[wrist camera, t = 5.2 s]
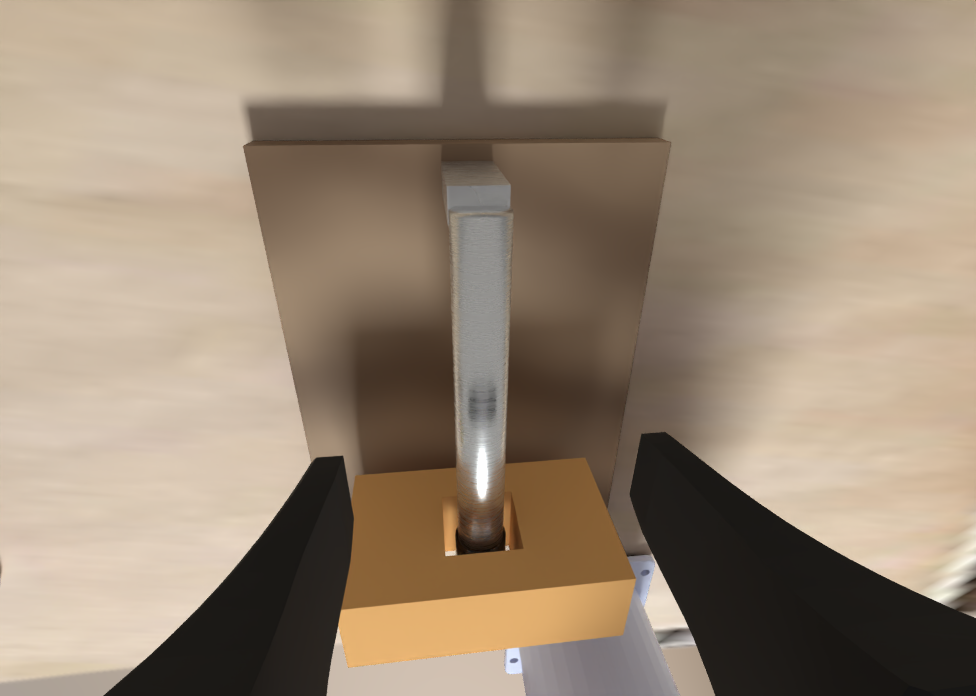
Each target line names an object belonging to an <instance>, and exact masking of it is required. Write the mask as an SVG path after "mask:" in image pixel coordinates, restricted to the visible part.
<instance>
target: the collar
mask: <svg viewBox="0 0 976 696" xmlns="http://www.w3.org/2000/svg"><path fill="white" fill-rule="evenodd" d="M351 503H352V509H353V515H354V526H353V540H352V552H351V562H350V567H349V572H348V578H347V583H346V588H345V593H344V598H343V603H342V608H341V613H340V618H339V623H338V626H339V630H340V635H341V639H342V643H343V648H344V652H345V657H346V661H347V665H348V668H349V667H358V666H365V665H375V664H384V663H392V662H400V661H409V660H417V659H425V658H434V657H442V656H451V655H459V654H468V653H477V652H485V651H494V650H502V649H511V648H519V647H528V646H536V645H545V644H553V643H562V642H570V641H579V640H587V639H596V638H604V637H613V636H621V635H623V633H624V629H625V625H626V620H627V616H628V612H629V608H630V603H631V599H632V595H633V591H634V587H635V582H636V577H635V574H634V572H633V570H632V567H631V565H630V563H629V560H628V558H627V555H626V553H625V551H624V548H623V546H622V544H621V541H620V539H619V536H618V534H617V532H616V529H615V527H614V525H613V522H612V520H611V517H610V515H609V513H608V510H607V508H606V506H605V503H604V501H603V499H602V496H601V494H600V491H599V489H598V487H597V484H596V482H595V480H594V477H593V475H592V472H591V470H590V468H589V465H588V463H587V461H586V458H573V459H561V460H548V461H535V462H522V463H509V464H505V490H504V520H503V526H504V528H505V532H506V543H505V546H507V545H509V548H510V550H507V551H497V552H486V553H476V554H466V555H455V556H445V551H455V550H456V539H455V533H456V529H457V527H458V512H457V479H456V468H445V469H432V470H419V471H406V472H393V473H380V474H367V475H355V480H354V487H353V494H352V500H351Z"/></svg>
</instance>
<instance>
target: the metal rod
mask: <svg viewBox="0 0 976 696" xmlns="http://www.w3.org/2000/svg"><path fill="white" fill-rule="evenodd" d="M441 173H442V196H443V202H444V207H445V213H446V218H447V223H448V226H449V247H450V280H451V313H452V346H453V379H454V413H455V446H456V479H457V512H458V527H457V529H456V533H455V539H456V550H455V552H456V555H466V554H476V553H486V552H497V551H505V543H506V532H505V528H504V526H503V520H504V490H505V460H506V430H507V400H508V370H509V340H510V310H511V280H512V250H513V220H514V211H513V209H511V208H510V194H511V185H510V183H509V182H508V181H507V179H506V178H505V177H504V175H503V174H502V173H501V171H500V170H499V169H498V167H497V166H496V165H495V163H494V162H493V161H452V162H441Z"/></svg>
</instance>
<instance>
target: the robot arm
mask: <svg viewBox="0 0 976 696" xmlns="http://www.w3.org/2000/svg"><path fill="white" fill-rule="evenodd" d="M630 498H631V501H632V504H633V507H634V510H635V513H636V516H637V519H638V522H639V524H640V527H641V530H642V533H643V535H644V537H645V539H646V541H647V543H648V545H649V547H650V549H651V551H652V553H653V556H654V558H655V560H656V562H657V564H658V566H659V568H660V570H661V572H662V574H663V576H664V578H665V580H666V582H667V584H668V586H669V588H670V590H671V592H672V594H673V596H674V598H675V600H676V602H677V604H678V606H679V608H680V610H681V612H682V614H683V616H684V618H685V620H686V622H687V625H688V627H689V629H690V631H691V633H692V636H693V638H694V640H695V643H696V646H697V648H698V651H699V653H700V656H701V659H702V661H703V664H704V666H705V669H706V671H707V674H708V677H709V679H710V682H711V685H712V688H713V690H714V693H715V696H976V618H974V617H972V616H969V615H967V614H964V613H962V612H959V611H957V610H954V609H952V608H950V607H948V606H945V605H943V604H941V603H939V602H936V601H934V600H932V599H930V598H928V597H925V596H923V595H921V594H919V593H916V592H914V591H912V590H910V589H908V588H906V587H904V586H902V585H899V584H897V583H895V582H893V581H891V580H889V579H887V578H885V577H883V576H881V575H879V574H877V573H875V572H873V571H871V570H870V569H868V568H866V567H864V566H862V565H860V564H858V563H856V562H854V561H852V560H850V559H848V558H847V557H845V556H843V555H841V554H839V553H838V552H836V551H834V550H832V549H831V548H829V547H827V546H825V545H824V544H822V543H820V542H819V541H817V540H815V539H814V538H812V537H810V536H809V535H807V534H805V533H804V532H802V531H800V530H799V529H797V528H795V527H794V526H792V525H791V524H789V523H788V522H786V521H785V520H783V519H781V518H780V517H779V516H777V515H776V514H774V513H773V512H771V511H770V510H768V509H767V508H765V507H764V506H762V505H761V504H759V503H758V502H757V501H755V500H754V499H752V498H751V497H750V496H748V495H747V494H745V493H744V492H743V491H741V490H740V489H739V488H737V487H736V486H735V485H733V484H732V483H731V482H729V481H728V480H727V479H725V478H724V477H723V476H721V475H720V474H719V473H717V472H716V471H715V470H714V469H712V468H711V467H710V466H708V465H707V464H706V463H705V462H703V461H702V460H701V459H699V458H698V457H697V456H696V455H694V454H693V453H692V452H691V451H689V450H688V449H687V448H685V447H684V446H683V445H682V444H680V443H679V442H678V441H676V440H675V439H674V438H672V437H671V436H670V435H668V434H667V433H666V432H661V433H647V434H641V439H640V444H639V449H638V454H637V459H636V464H635V469H634V475H633V480H632V485H631V490H630ZM353 526H354V515H353V509H352V503H351V497H350V492H349V486H348V480H347V474H346V468H345V463H344V457H343V456H329V457H316V458H315V459H314V460H313V461H312V463H311V464H310V466H309V467H308V469H307V471H306V472H305V474H304V475H303V477H302V478H301V480H300V481H299V483H298V485H297V486H296V488H295V489H294V491H293V492H292V493H291V495H290V496H289V498H288V499H287V501H286V502H285V504H284V505H283V506H282V508H281V509H280V511H279V512H278V513H277V515H276V516H275V517H274V519H273V520H272V522H271V523H270V524H269V526H268V527H267V528H266V530H265V531H264V532H263V534H262V535H261V536H260V538H259V539H258V540H257V541H256V543H255V544H254V545H253V546H252V547H251V549H250V550H249V551H248V552H247V554H246V555H245V556H244V557H243V559H242V560H241V561H240V562H239V564H238V565H237V566H236V567H235V568H234V569H233V571H232V572H231V573H230V574H229V575H228V576H227V578H226V579H225V580H224V581H223V582H222V583H221V584H220V585H219V587H218V588H217V589H216V590H215V591H214V592H213V593H212V594H211V595H210V596H209V597H208V598H207V599H206V601H205V602H204V603H203V604H202V605H201V606H200V607H199V608H198V609H197V610H196V611H195V612H194V613H193V614H192V615H191V616H190V617H189V618H188V619H187V620H186V621H185V622H184V623H183V624H182V625H181V626H180V627H179V628H178V629H177V630H176V631H175V632H174V633H173V634H172V635H171V636H170V637H169V638H168V639H167V640H166V641H165V642H163V643H162V644H161V645H160V646H159V647H158V648H157V649H156V650H155V651H154V652H153V653H152V654H151V655H150V656H148V657H147V658H146V659H145V660H144V661H143V662H142V663H140V664H139V665H138V666H137V667H136V668H135V669H134V670H132V671H131V672H130V673H129V674H128V675H127V676H126V677H124V678H123V679H122V680H121V681H120V682H119V683H117V684H116V685H115V686H114V687H113V688H112V689H111V690H109V691H108V692H107V693H106V694H105V695H104V696H326V694H327V685H328V677H329V671H330V665H331V659H332V654H333V649H334V644H335V639H336V634H337V628H338V623H339V618H340V613H341V608H342V603H343V598H344V593H345V588H346V583H347V578H348V572H349V567H350V562H351V552H352V540H353ZM627 558H628V560H629V563H630V565H631V567H632V570H633V572H634V574H635V577H636V582H635V587H634V591H633V595H632V599H631V603H630V608H629V612H628V616H627V620H626V625H625V629H624V633H623V635H621V636H613V637H604V638H596V639H587V640H579V641H570V642H562V643H553V644H545V645H536V646H528V647H519V648H511V649H505V664H504V666H505V671H506V672H507V673H508V674H518V673H522V674H523V680H524V686H525V692H526V696H680V694H679V691H678V689H677V687H676V685H675V682H674V679H673V677H672V674H671V672H670V670H669V667H668V665H667V662H666V660H665V658H664V655H663V653H662V650H661V648H660V645H659V643H658V641H657V638H656V636H655V633H654V631H653V628H652V626H651V624H650V621H649V619H648V616H647V614H646V612H645V609H644V606H645V602H646V598H647V594H648V590H649V586H650V583H651V579H652V575H653V571H654V567H655V562H654V560H653V558H652V556H649V555H640V556H630V557H627Z"/></svg>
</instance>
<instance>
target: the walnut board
mask: <svg viewBox="0 0 976 696" xmlns="http://www.w3.org/2000/svg"><path fill="white" fill-rule="evenodd" d="M670 146H671V142H669V141H666V140H663V139H660V138H601V139H466V140H332V141H252V142H250V143H248V144H246V145H244V146H243V148H244V153H245V157H246V162H247V167H248V171H249V176H250V180H251V185H252V190H253V194H254V199H255V204H256V208H257V213H258V218H259V222H260V227H261V231H262V236H263V241H264V245H265V250H266V255H267V259H268V264H269V268H270V273H271V278H272V282H273V287H274V292H275V296H276V301H277V305H278V310H279V315H280V319H281V324H282V329H283V333H284V338H285V343H286V347H287V352H288V356H289V361H290V366H291V370H292V375H293V380H294V384H295V389H296V393H297V398H298V403H299V407H300V412H301V417H302V421H303V426H304V431H305V435H306V440H307V444H308V449H309V454H310V458H311V463H312V461H313V460H314V459H315V458H316V457H329V456H343V457H344V463H345V468H346V474H347V480H348V486H349V492H350V497H351V500H352V494H353V487H354V480H355V475H367V474H380V473H393V472H406V471H419V470H432V469H445V468H456V446H455V413H454V379H453V346H452V313H451V280H450V247H449V226H448V223H447V218H446V213H445V207H444V202H443V196H442V173H441V162H452V161H493V162H494V163H495V165H496V166H497V167H498V169H499V170H500V171H501V173H502V174H503V175H504V177H505V178H506V179H507V181H508V182H509V183H510V185H511V194H510V208H511V209H513V211H514V220H513V250H512V280H511V310H510V340H509V370H508V400H507V430H506V460H505V464H509V463H522V462H535V461H548V460H561V459H573V458H586V461H587V463H588V465H589V468H590V470H591V472H592V475H593V477H594V480H595V482H596V484H597V487H598V489H599V491H600V494H601V496H602V499H603V501H604V503H605V506H606V508H607V507H608V501H609V496H610V490H611V484H612V478H613V473H614V467H615V461H616V455H617V450H618V444H619V438H620V433H621V427H622V421H623V415H624V410H625V404H626V398H627V392H628V387H629V381H630V375H631V370H632V364H633V358H634V352H635V347H636V341H637V335H638V329H639V324H640V318H641V312H642V307H643V301H644V295H645V289H646V284H647V278H648V272H649V266H650V261H651V255H652V249H653V243H654V238H655V232H656V226H657V221H658V215H659V209H660V203H661V198H662V192H663V186H664V180H665V175H666V169H667V163H668V158H669V152H670Z"/></svg>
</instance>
